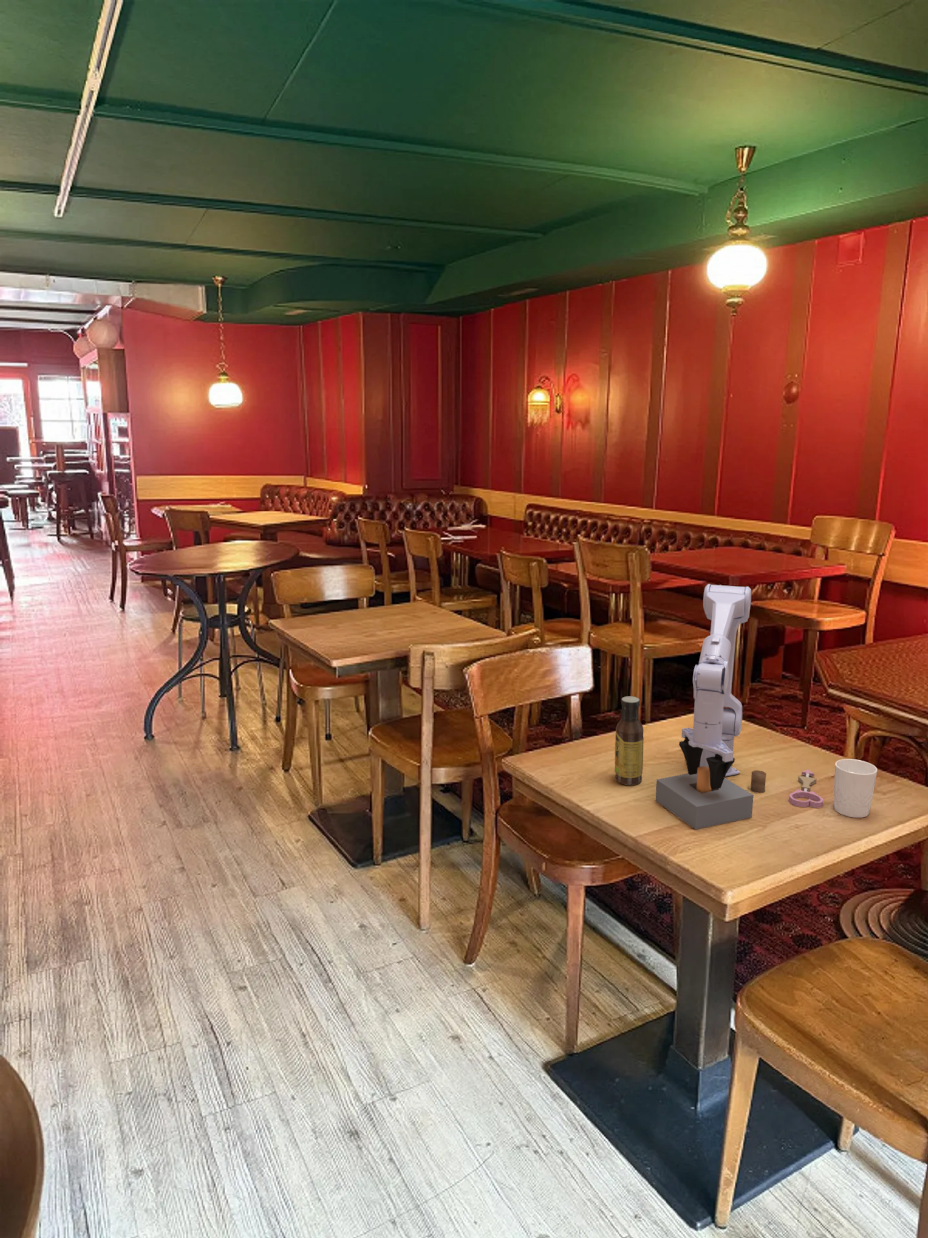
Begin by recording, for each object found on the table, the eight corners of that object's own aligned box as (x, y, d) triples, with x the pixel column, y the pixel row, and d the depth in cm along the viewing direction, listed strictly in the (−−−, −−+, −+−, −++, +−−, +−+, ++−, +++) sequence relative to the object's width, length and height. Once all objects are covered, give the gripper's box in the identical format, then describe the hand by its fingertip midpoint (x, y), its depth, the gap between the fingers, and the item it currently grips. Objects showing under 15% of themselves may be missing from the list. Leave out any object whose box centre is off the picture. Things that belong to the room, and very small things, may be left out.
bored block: (655, 800, 176) (656, 779, 175) (709, 790, 181) (710, 769, 180) (695, 829, 163) (696, 806, 162) (751, 817, 168) (753, 795, 167)
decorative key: (826, 769, 188) (822, 805, 170) (825, 774, 188) (822, 810, 171) (794, 764, 191) (788, 799, 173) (794, 769, 191) (787, 804, 174)
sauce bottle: (618, 773, 190) (621, 692, 186) (645, 778, 187) (648, 696, 183) (610, 783, 185) (613, 700, 180) (637, 789, 182) (641, 704, 177)
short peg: (747, 788, 182) (748, 771, 181) (758, 786, 183) (759, 769, 182) (756, 793, 179) (758, 777, 178) (767, 791, 180) (769, 774, 179)
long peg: (692, 806, 173) (694, 767, 171) (704, 804, 174) (707, 765, 172) (700, 813, 170) (702, 773, 168) (713, 810, 171) (715, 771, 169)
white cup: (852, 822, 166) (857, 777, 163) (822, 806, 173) (826, 762, 170) (880, 815, 169) (886, 770, 166) (850, 799, 176) (855, 756, 173)
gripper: (670, 711, 173) (667, 770, 176) (714, 734, 160) (710, 798, 163) (698, 706, 175) (695, 765, 178) (743, 729, 162) (739, 792, 165)
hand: (704, 780), depth 171 cm, fingers open, 7 cm apart
